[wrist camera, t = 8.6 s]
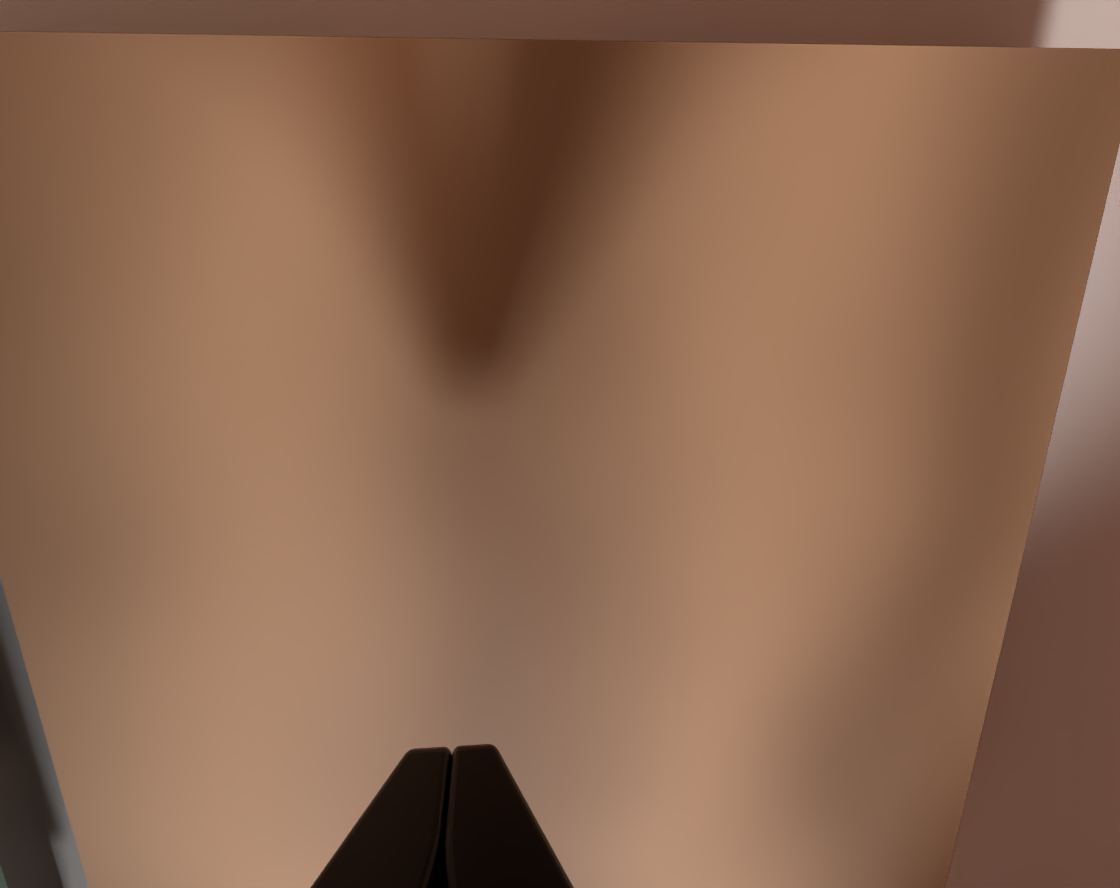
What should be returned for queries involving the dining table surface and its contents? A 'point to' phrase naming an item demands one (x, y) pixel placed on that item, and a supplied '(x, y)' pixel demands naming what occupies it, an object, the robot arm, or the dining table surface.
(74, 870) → the box
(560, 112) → the walnut board
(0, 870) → the long mint beam
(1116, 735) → the dining table surface
